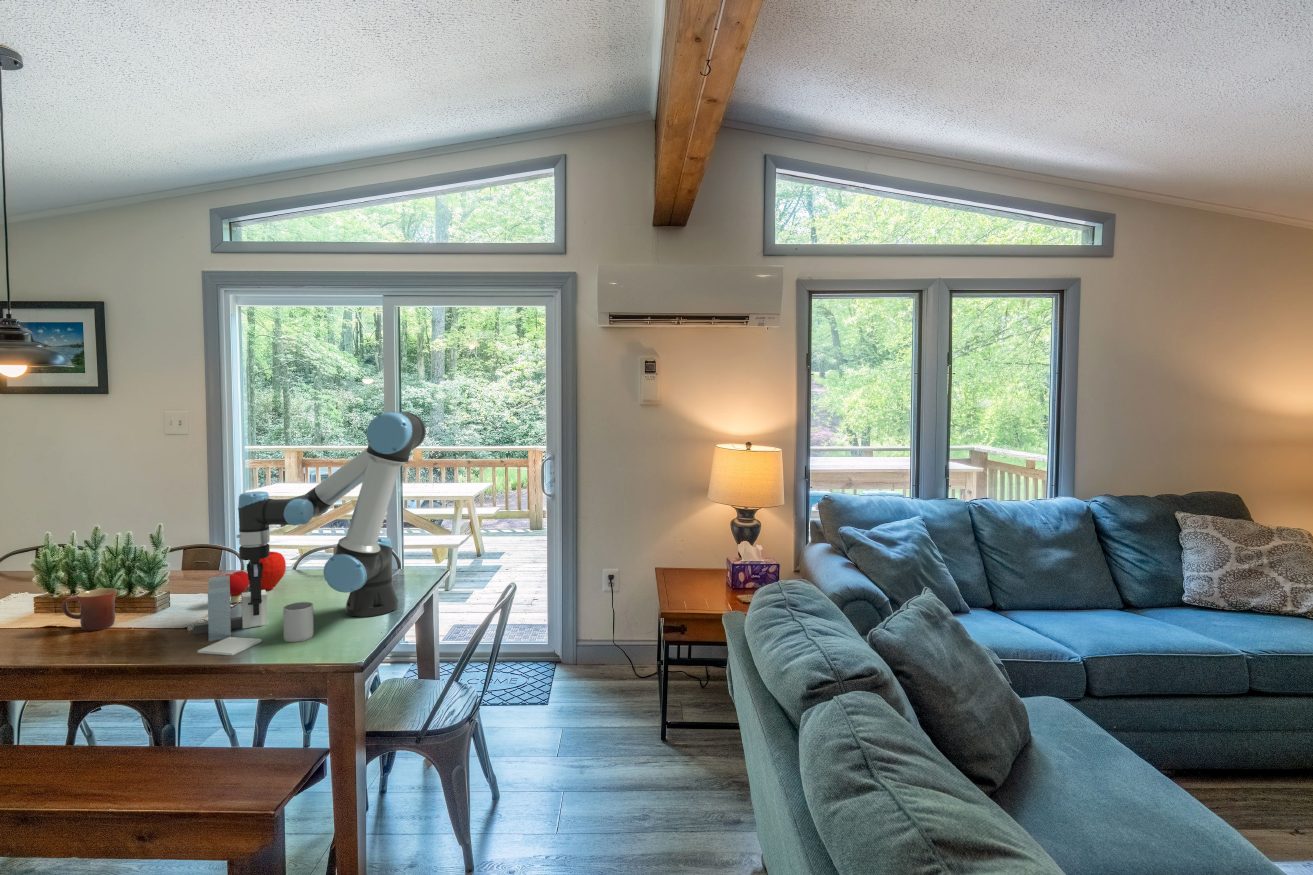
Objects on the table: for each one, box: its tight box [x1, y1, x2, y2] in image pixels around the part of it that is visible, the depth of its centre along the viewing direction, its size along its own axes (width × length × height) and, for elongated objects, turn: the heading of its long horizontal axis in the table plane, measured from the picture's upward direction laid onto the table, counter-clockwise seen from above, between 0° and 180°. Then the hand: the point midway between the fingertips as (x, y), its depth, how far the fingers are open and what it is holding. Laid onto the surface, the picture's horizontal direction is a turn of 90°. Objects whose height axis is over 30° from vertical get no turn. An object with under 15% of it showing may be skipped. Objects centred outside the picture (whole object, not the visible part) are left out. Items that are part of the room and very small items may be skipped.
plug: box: [192, 590, 268, 635], centre depth 181 cm, size 18×6×9 cm, turn 125°
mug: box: [61, 587, 119, 632], centre depth 179 cm, size 12×9×10 cm
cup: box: [282, 601, 314, 643], centre depth 175 cm, size 7×10×9 cm
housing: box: [207, 575, 232, 642], centre depth 180 cm, size 5×20×13 cm, turn 35°
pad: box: [197, 636, 263, 656], centre depth 167 cm, size 10×10×1 cm
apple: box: [260, 551, 287, 592], centre depth 220 cm, size 12×12×13 cm
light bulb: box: [224, 570, 249, 604], centre depth 204 cm, size 9×7×10 cm
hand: (255, 622), depth 185 cm, fingers closed on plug, 6 cm apart
